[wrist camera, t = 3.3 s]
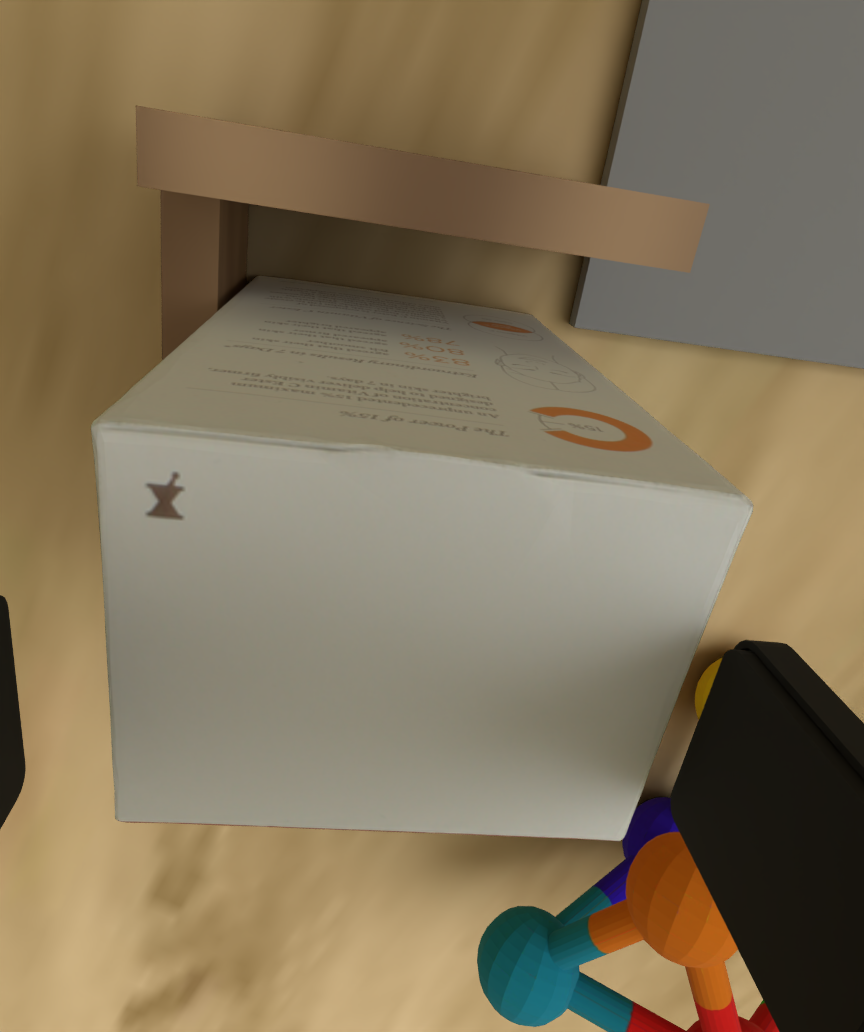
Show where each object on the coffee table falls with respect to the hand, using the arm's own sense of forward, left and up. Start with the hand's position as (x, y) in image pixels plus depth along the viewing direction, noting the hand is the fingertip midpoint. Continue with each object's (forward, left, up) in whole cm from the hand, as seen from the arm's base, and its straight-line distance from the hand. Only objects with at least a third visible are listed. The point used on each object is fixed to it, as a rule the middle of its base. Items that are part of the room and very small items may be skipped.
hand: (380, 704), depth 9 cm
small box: (0, 0, -13) cm, 13 cm away
